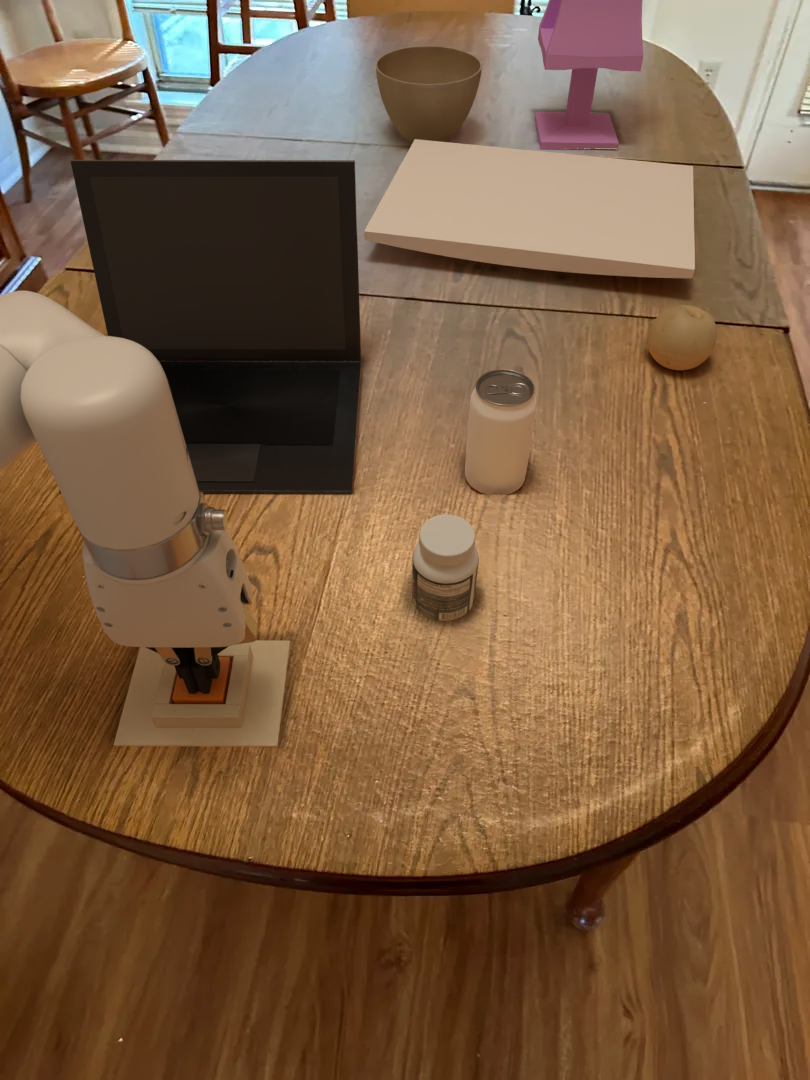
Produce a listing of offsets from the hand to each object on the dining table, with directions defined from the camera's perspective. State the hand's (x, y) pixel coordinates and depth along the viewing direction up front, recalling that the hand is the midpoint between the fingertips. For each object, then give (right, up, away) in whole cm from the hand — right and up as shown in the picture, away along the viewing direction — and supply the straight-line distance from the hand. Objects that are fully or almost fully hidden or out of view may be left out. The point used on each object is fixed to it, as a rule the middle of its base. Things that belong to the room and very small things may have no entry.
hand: (202, 677), depth 64 cm
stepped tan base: (0, -2, +3) cm, 4 cm away
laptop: (-4, +23, +25) cm, 35 cm away
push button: (0, -1, +1) cm, 2 cm away
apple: (+50, +34, +34) cm, 69 cm away
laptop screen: (-4, +42, +25) cm, 49 cm away
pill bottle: (+20, +5, +9) cm, 23 cm away
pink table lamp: (+47, +85, +80) cm, 126 cm away
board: (+36, +59, +57) cm, 90 cm away
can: (+26, +18, +21) cm, 38 cm away
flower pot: (+20, +84, +79) cm, 117 cm away
